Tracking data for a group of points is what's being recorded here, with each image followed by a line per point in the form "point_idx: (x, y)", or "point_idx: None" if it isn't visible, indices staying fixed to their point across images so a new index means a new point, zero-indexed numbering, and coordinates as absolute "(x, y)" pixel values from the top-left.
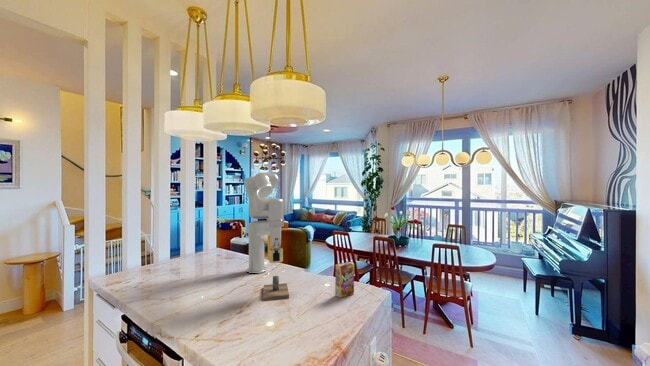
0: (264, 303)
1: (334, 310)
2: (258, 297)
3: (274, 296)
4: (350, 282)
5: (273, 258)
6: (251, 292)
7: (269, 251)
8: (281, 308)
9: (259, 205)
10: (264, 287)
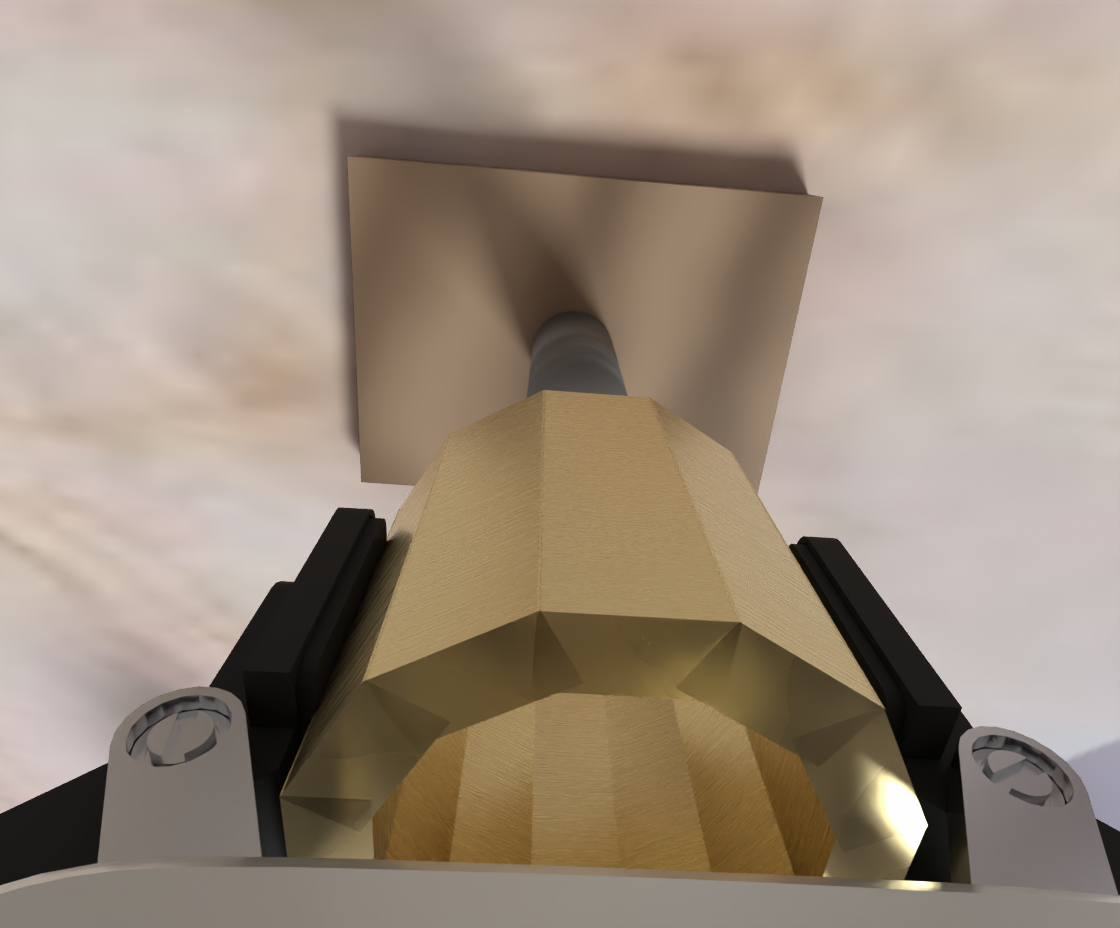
0: (266, 168)
1: (57, 756)
2: (478, 94)
3: (355, 312)
4: None
5: (316, 558)
6: None
7: (526, 567)
8: (110, 355)
9: None
10: (714, 202)
